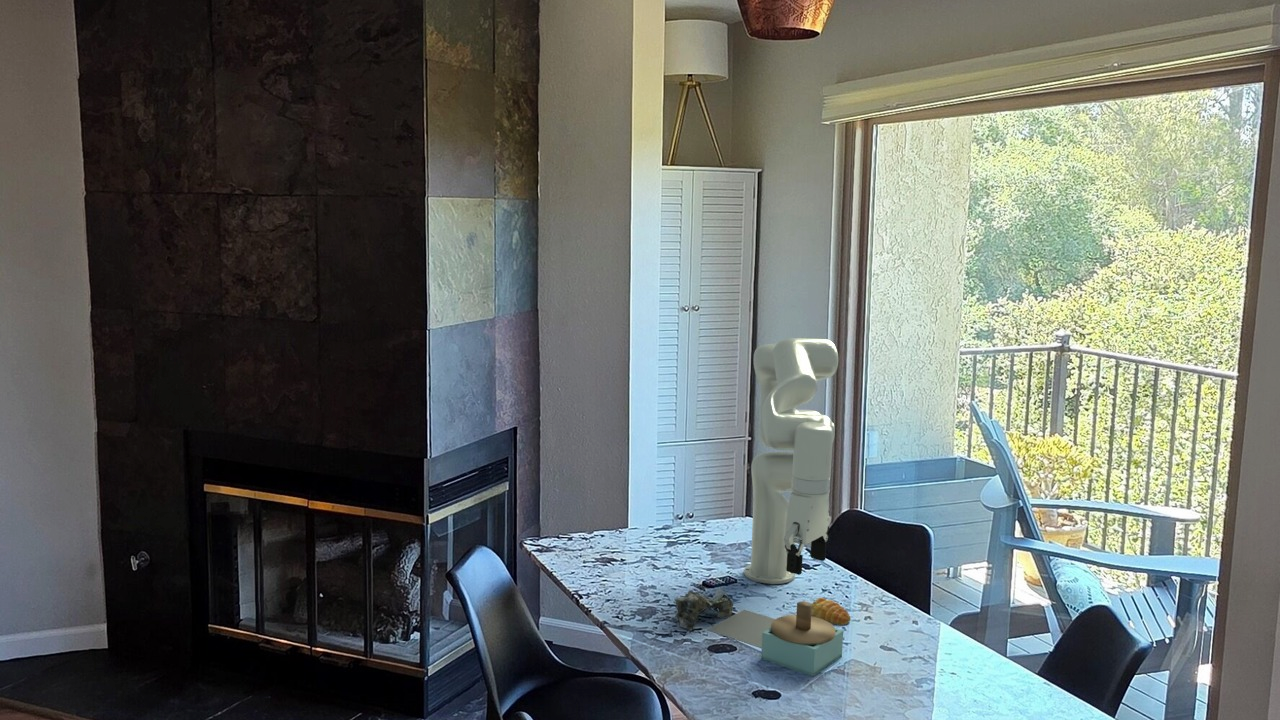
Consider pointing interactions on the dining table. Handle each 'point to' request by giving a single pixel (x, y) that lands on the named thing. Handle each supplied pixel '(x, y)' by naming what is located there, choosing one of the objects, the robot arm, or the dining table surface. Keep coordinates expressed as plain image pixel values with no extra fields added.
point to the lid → (803, 627)
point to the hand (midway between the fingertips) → (806, 565)
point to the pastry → (830, 611)
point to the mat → (744, 627)
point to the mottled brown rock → (701, 607)
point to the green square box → (801, 653)
